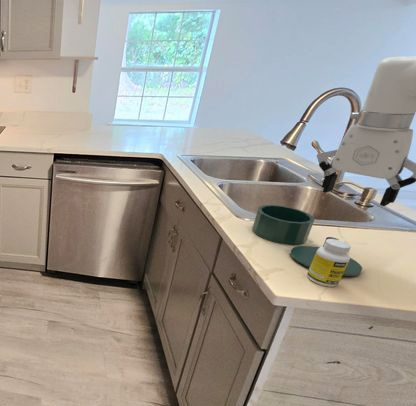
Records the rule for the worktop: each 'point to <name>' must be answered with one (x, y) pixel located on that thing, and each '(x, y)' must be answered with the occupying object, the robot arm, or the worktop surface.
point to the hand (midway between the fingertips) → (354, 197)
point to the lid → (308, 252)
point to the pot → (282, 224)
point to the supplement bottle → (329, 263)
